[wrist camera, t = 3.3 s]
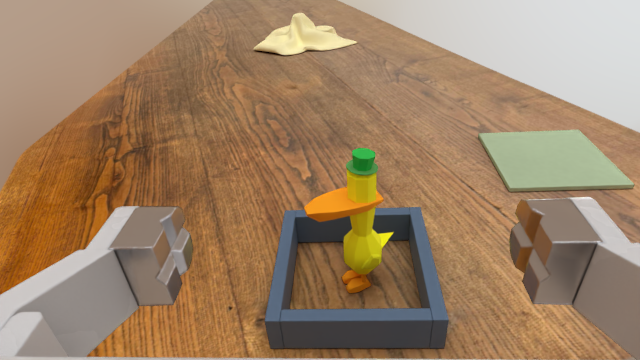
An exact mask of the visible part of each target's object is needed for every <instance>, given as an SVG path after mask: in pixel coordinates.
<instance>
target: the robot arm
mask: <svg viewBox="0 0 640 360" xmlns="http://www.w3.org/2000/svg"><path fill="white" fill-rule="evenodd" d="M515 214H516V216H517V218H518V220H519V221H520V222H518V223H517V224H516V225H515V226H514V227H513V228H512V229H511V234H510V239H509V242H510V253H511V257H512V260H513V263H514V265H515V267H516V268H518V269H519V270H520V271H522V272H523V273H524V277H523V281H522V282H523V284H524V286H525V288H526V290H527V292H528V294H529V297H530V299H531V301H532V303H533V304H559V305H573V306H572V307H573V308H575V309H576V310H577V311H578V312H580V313H581V314H582V315H583V316H584V317H586V318H587V319H588V320H589V321H590V322H592V323H593V324H594V325H595V326H596V327H598V328H599V329H600V330H601V331H602V332H604V333H605V334H606V335H607V336H608V337H610V338H611V339H612V340H613V341H614V342H616V343H617V344H618V345H619V346H620V347H622V348H623V349H624V350H625V351H626V352H628V353H629V354H630V355H631V356H632V357H634V358H635V359H636V360H640V243H631V242H630V241H629V240H628V238H627V237H626V236H625V235H624V234H623V233H622V231H621V230H620V229H619V228H618V227H617V225H616V224H615V223H614V222H613V221H612V220H611V218H610V217H609V216H608V215H607V214H606V213H605V211H604V210H603V209H602V208H601V207H600V205H599V204H598V203H597V202H596V201H595V200H594V199H592V198H590V197H575V198H565V199H531V200H521V201H520V202H519V204H518V206H517V209H516V213H515ZM185 220H186V219H185V216H184V213H183V210H182V208H180V207H179V206H140V207H139V206H121V207H118V208H116V209H115V210H114V211H113V213H112V214H111V216H110V217H109V218H108V220H107V221H106V222H105V224H104V225H103V226H102V228H101V229H100V230H99V232H98V233H97V234H96V236H95V237H94V238H93V240H92V241H91V242H90V244H89V245H88V246H87V248H86V249H85V250H78V251H76V252H74V253H73V254H71V255H69V256H67V257H66V258H64V259H62V260H60V261H59V262H57V263H55V264H53V265H52V266H50V267H48V268H46V269H45V270H43V271H41V272H39V273H38V274H36V275H34V276H32V277H31V278H29V279H27V280H25V281H24V282H22V283H20V284H18V285H17V286H15V287H13V288H11V289H10V290H8V291H6V292H4V293H3V294H1V295H0V360H525V359H369V358H183V357H86V356H87V355H88V354H89V353H90V352H91V351H92V350H93V349H95V348H96V347H97V346H98V345H99V344H100V343H101V342H102V341H103V340H104V339H105V338H107V337H108V336H109V335H110V334H111V333H112V332H113V331H114V330H115V329H116V328H117V327H119V326H120V325H121V324H122V323H123V322H124V321H125V320H126V319H127V318H128V317H129V316H131V315H132V314H133V313H134V312H135V311H136V310H137V309H138V308H139V307H138V306H158V305H174V302H175V300H176V298H177V295H178V293H179V290H180V288H181V286H182V281H181V278H180V276H181V275H182V274H184V273H185V272H186V271H187V270H188V269H189V266H190V264H191V261H192V253H193V245H192V239H191V235H190V233H189V232H188V231H187V230H185V229H184V228H183V227H182V226H183V224H184V222H185Z"/></svg>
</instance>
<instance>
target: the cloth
mask: <svg viewBox="0 0 640 360" xmlns="http://www.w3.org/2000/svg"><path fill="white" fill-rule="evenodd" d="M356 43H358V42H356V41H352V40H349V39H342V38H341V37H339V36H337V34H336V31H335V29H334V28H333V27H331V26H317V27H315V26H314V23H313V22H312V21H311V20H310V19H309V18H308V17H307V16H305V15H304V14H303V13H297V14H294V15H293V17H292V21H291V25H289V26H286V27H282V28H279V29H276V30H274V31H273V32H272V33H271V34H270V35H269V36H268V37H266V38H265V41H263V42H261V43H259V44H258V45H257V46H256V47H254V48H253V49H254V50H258V51H266V52H273V53H278V54H281V55H294V54H299V53H302V52H304V51H306V50H320V51H325V50H332V49H337V48H342V47H345V46H349V45H352V44H356Z"/></svg>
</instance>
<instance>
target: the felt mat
mask: <svg viewBox="0 0 640 360" xmlns="http://www.w3.org/2000/svg"><path fill="white" fill-rule="evenodd" d="M478 138H479V139H480V141H481V143H482V145H483V146H484V148H485V150H486V152H487V153H488V155H489V157H490V159H491V160H492V162H493V164H494V166H495V167H496V169H497V171H498V173H499V175H500V176H501V178H502V180H503V182H504V183H505V185H506V187H507V189H508V190H509V192H522V191H558V190H593V189H629V188H633V187H634V183H633V182H632V181H630V180H629V179H628V178H627V177H626V176H625V175H624V174H623V173H622V172H621V171H620V170H619V169H618V168H617V167H616V166H615V165H614V164H613V163H612V162H611V161H610V160H609V159H608V158H607V157H606V156H605V155H604V154H603V153H602V152H601V151H600V150H599V149H598V148H597V147H596V146H595V145H594V144H593V143H592V142H591V141H590V140H589V139H588V138H587V137H586V136H585V135H583V134H582V133H581V132H580V131H579V130H559V131H532V132H506V133H480V134H478Z"/></svg>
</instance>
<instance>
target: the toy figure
mask: <svg viewBox="0 0 640 360" xmlns="http://www.w3.org/2000/svg"><path fill="white" fill-rule="evenodd" d="M352 156H353V160H351V161H349V162H348V163H347V164H346V168H347V187H344V188H340V189H337V190H334V191H331V192H328V193H325V194H323V195H321V196H319V197H317V198H314V199H313V200H312V201H311V202H310V203H309V204H307V205H306V206H305V207H304V209H305V213H306V216H308V217H310V218H312V219H314V220H316V221H319V222H323V221H329V220H334V219H338V218H342V217H347V216H350V220H351V225H352V229H351V230H350V231H349V232H348V233H347V234H346V235H345V236H344V262H345V263H346V264H347V265H348V266H349V267H350V268H351V269H353V270H348V271H347V272H346V273H345V274H344V275H343V276H342V277H341V278H342V280H343V282H344V284H348V285H347V286H346V289H347V291H348V293H357V292H360V291H362V290H364V289H365V288H367V287H369V286H371V283H370V282H369V280H368V279H366V278H367V276H366V274H368V273H369V272H371V271H372V270H373V269H374V268H375V267H377V266H378V265H379V264H380V263H381V254H382V248H383V247H384V245H385V244H386V243H387V241H388V240H389V238H390V237H391V235H392V234H393V233H394V232H390V233H381V234H377V233H376V232H375V231H374V230H373V229H372V227H373V221H374V214H375V208H376V206H377V205H378V204H380V203H381V202H383V201H384V199H383V198H382V197H381V195H380V194H379V193H378V192H377V190H376V172H377V170H378V166H377V165H376V164H375V163H374V159H375V152H374V151H372V150H370V149H365V148H358V149H355V150H353V151H352Z"/></svg>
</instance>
